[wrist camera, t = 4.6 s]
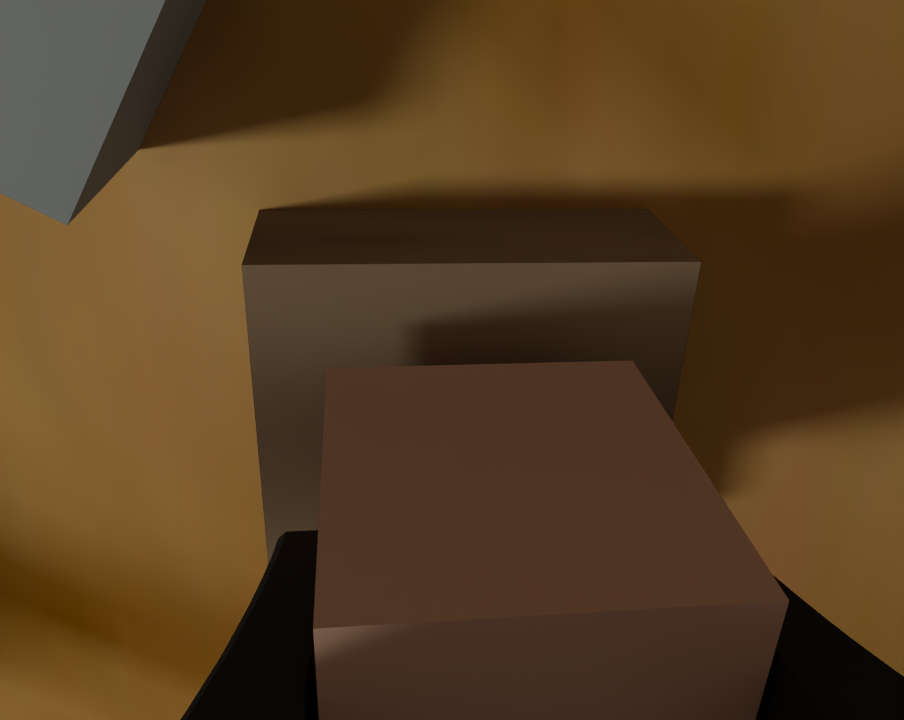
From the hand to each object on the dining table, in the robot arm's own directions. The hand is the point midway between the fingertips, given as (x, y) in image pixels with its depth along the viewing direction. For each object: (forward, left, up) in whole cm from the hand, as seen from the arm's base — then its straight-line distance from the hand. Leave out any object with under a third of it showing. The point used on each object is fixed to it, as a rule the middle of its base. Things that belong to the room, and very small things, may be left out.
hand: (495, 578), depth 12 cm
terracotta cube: (0, 0, -2) cm, 2 cm away
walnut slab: (0, 0, -6) cm, 6 cm away
